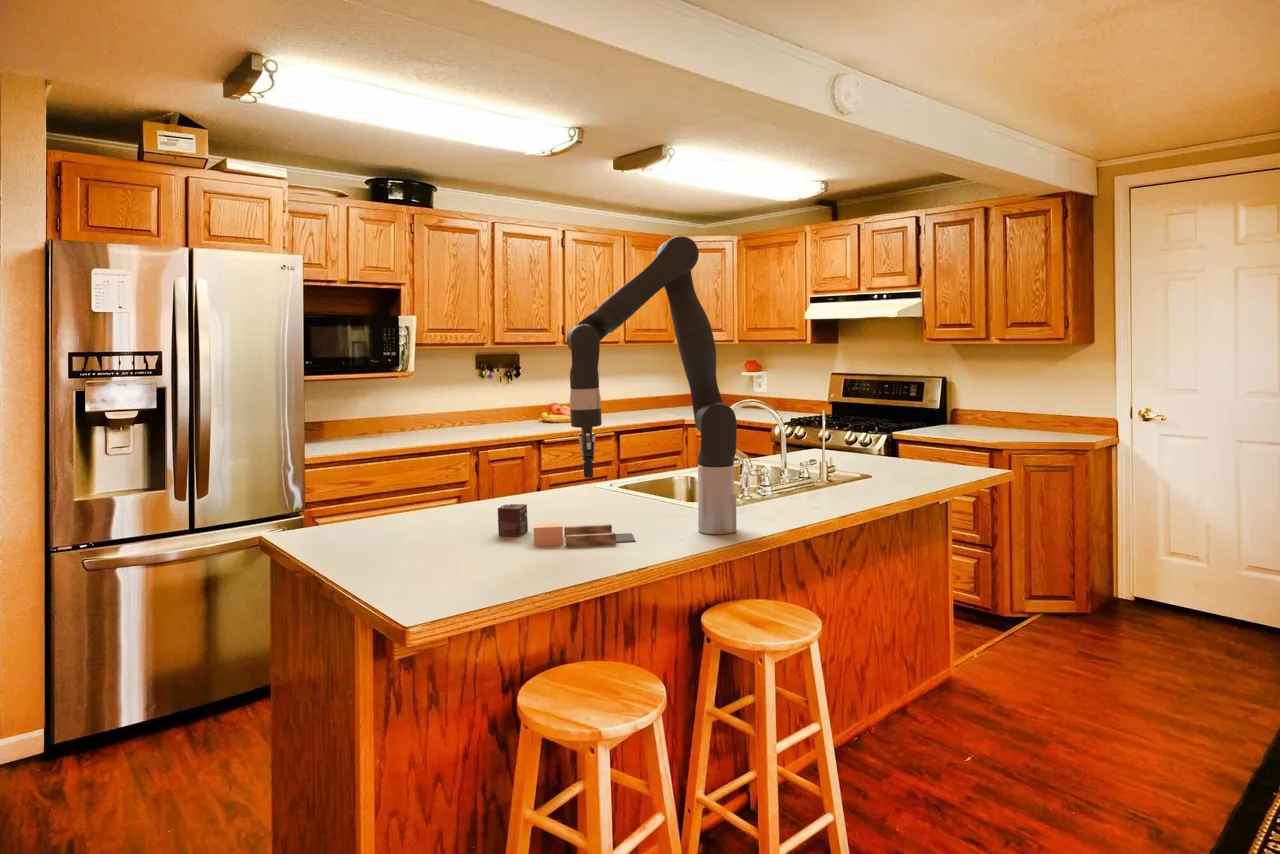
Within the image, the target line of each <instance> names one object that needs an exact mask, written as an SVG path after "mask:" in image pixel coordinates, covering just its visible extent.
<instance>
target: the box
mask: <svg viewBox="0 0 1280 854" xmlns="http://www.w3.org/2000/svg"><path fill="white" fill-rule="evenodd" d="M527 506H528V504H526V503H525V504H523V503H522V504H521V503H519V504H518V503H517V504H516V503H515V504H514V503H508V504H507V503H506V504H504V505H501V506H499V507H498V508H497V524H498V525H497V527H498V529H497V530H498V531H497V532H498V536H499V537H521V536H523V535H525V534H526V533H528V532H529V531H528V530H529V529H528V528H529V526H528V507H527Z"/></svg>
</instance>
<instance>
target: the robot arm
mask: <svg viewBox="0 0 1280 854" xmlns="http://www.w3.org/2000/svg"><path fill="white" fill-rule="evenodd" d="M699 253H700V252H699V248H698V246H697V244H696V242H695V241H694V240H693V239H692V238H690V237H688V236H684V235H677V236H673V237H670V238H669V239H668V240H665V241H664V242H662V244H661V245H659V247H658V249H657V251H656V254H655V258H654V259H653V260H652V261H651V263H650V264H648V266H646V267H645V268H644V269H643V270H641V272H640V273H638V274H637V275H636V276H634V277H633V278H632V279H630V280H629V281H628V282H626V283H624V284H623V285H622V286H621V287H620V288H618V289H617V290H616V291H614V292H613V293H612V294H610V296H608V297H607V298H606V299H605V300H604V301H603V302H602V303H601V304H599V306H597V308H595V310H594V311H592V312H591V313H590V314H588V316H586V317H584V318H583V319H582V320H581V321H579V322H578V323H577V324H576V325H574V326H573V327H572V328H571V329H570V330H569V332H568V333H567V336H566V344H567V346H568V348H569V349H570V351H571V367H570V371H569V385H570V386H569V387H570V391H569V393H570V394H569V407H570V408H569V410H570V413H569V414H570V426H571V427H572V428H578V429H581V433H578V441H579V451H580V454H581V461H582V463H583V464H582V465H583V466H582V467H583V477H584V478H585V479H591V478H593V477H594V466H593V465H594V460H595V456H594V455H595V453H596V447H595V444H596V433H594V432H593V428H597V427H600V426H602V402H601V401H602V398H601V392H600V376H599V375H600V374H599V362H600V361H599V360H600V345H601V343H600V342H601V341H602V340H603V339H604V338H605V337H606V336H607V335H608V334H610V333H612V332H614V331H615V330H617V329H618V328H620V326H622V325H623V324H624V323H625V322H626V321H628V320H629V319H630V318H631V317H632V316H633V315H635V314H636V312H637V311H639V309H641V308H642V307H643V305H645V304H646V303H647V302H648V301H650V300H651V298H652V297H653V296H655V294H657V293H658V292H659V291H660V290H662V289H663V288H664V290H665V294H666V296H667V299H668V305H669V310H670V315H671V318H672V319H671V320H672V324H673V329H674V334H675V339H676V344H677V347H678V350H679V351H678V352H679V355H680V358H681V362H682V367H683V369H684V373H685V376H686V378H687V383H688V385H689V390H690V396H691V403H692V411H693V418H694V419H693V420H694V424H695V426H696V429H697V431H699V433H700V450H699V452H698V454H697V496H698V497H697V505H698V506H697V510H698V511H697V512H698V513H697V514H698V515H697V516H698V517H697V518H698V522H697V524H698V525H697V526H698V532H700V533H702V534H706V535H707V534H708V535H727V534H731V533H738V532H737V531H738V530H737V495H736V494H735V456H736V452H737V439H738V438H737V435H738V433H737V431H738V430H737V427H738V426H737V423H738V422H737V417H736V413H735V412H734V410H733V409H732V407H731V406H729V404H728V405H727V404H725V403H724V402H723V398H722V396H721V393H720V388H719V385H718V380H717V348H716V342H715V338H714V334H713V329H712V326H711V322H710V320H709V317H708V316H707V313H706V311H705V309H704V308H703V305H702V304H701V302H700V300H699V297H698V295H697V294H696V293H697V292H696V291H695V287H694V281H693V277H692V270H693V269H694V268H695V266H696V265H697V263H698V262H699V261H698V260H699Z"/></svg>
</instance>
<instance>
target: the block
mask: <svg viewBox="0 0 1280 854" xmlns="http://www.w3.org/2000/svg"><path fill="white" fill-rule="evenodd" d="M563 528H564V526H563V522H561V521H560V522H559V521H558V522H538V523H535V522H534V523H533V546H553V545H564V529H563Z"/></svg>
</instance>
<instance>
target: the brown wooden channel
mask: <svg viewBox="0 0 1280 854" xmlns="http://www.w3.org/2000/svg"><path fill="white" fill-rule="evenodd" d="M563 528H564V529H563V537H564V538H565V547H566V548H567V547H568V548H569V547H572V548H573V547H589V546H591V547H593V546H608V545H609V546H610V545H616V544H617V543H616V534H617V533H616V532H613V529H612V528H613V527H612V524H610V523H609V524H588V525H586V524H585V525H570V526H569V525H568V526H567V525H564V526H563Z"/></svg>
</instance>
